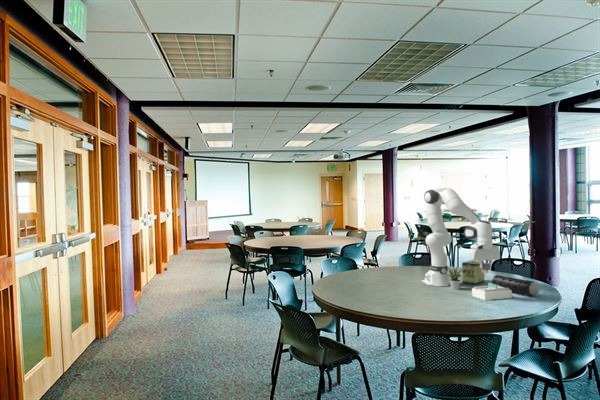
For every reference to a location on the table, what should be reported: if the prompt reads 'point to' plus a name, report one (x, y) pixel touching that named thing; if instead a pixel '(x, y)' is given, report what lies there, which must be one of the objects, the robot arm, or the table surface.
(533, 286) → the muzzle brake
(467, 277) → the protein box
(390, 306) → the table surface
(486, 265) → the plug
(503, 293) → the socket box
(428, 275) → the robot arm
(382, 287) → the table surface
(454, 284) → the house plant
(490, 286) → the shutter
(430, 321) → the table surface
